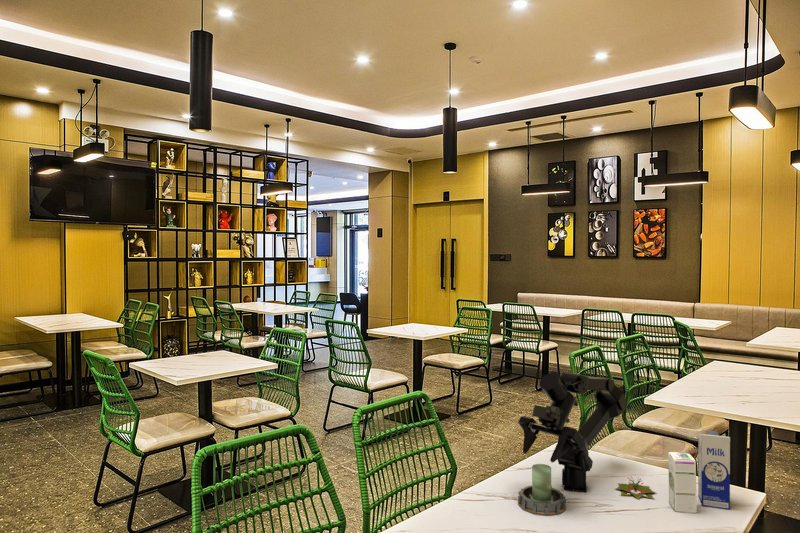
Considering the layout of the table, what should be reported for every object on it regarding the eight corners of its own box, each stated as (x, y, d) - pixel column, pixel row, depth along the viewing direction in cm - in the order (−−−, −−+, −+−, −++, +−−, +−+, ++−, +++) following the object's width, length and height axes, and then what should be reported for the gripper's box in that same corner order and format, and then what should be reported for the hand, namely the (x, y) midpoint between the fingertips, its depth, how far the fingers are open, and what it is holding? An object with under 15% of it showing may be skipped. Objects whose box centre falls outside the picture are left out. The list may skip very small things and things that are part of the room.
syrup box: (697, 513, 145) (697, 460, 145) (673, 511, 146) (673, 458, 146) (690, 504, 151) (690, 452, 150) (667, 502, 152) (667, 451, 152)
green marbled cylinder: (545, 496, 155) (545, 461, 155) (559, 506, 149) (559, 470, 149) (524, 499, 153) (524, 464, 153) (538, 510, 147) (537, 473, 147)
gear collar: (565, 497, 155) (565, 487, 155) (565, 518, 143) (565, 507, 143) (520, 492, 159) (520, 482, 159) (516, 512, 147) (516, 501, 147)
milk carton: (701, 505, 150) (701, 434, 149) (697, 495, 156) (697, 426, 156) (730, 509, 147) (730, 436, 147) (725, 499, 153) (725, 429, 153)
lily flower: (654, 487, 163) (654, 472, 163) (661, 504, 152) (661, 488, 152) (611, 482, 167) (611, 468, 167) (615, 499, 155) (615, 483, 155)
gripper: (521, 388, 161) (497, 433, 154) (576, 399, 146) (553, 450, 139) (537, 409, 166) (515, 454, 159) (593, 422, 151) (571, 472, 144)
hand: (537, 457), depth 150 cm, fingers open, 9 cm apart
